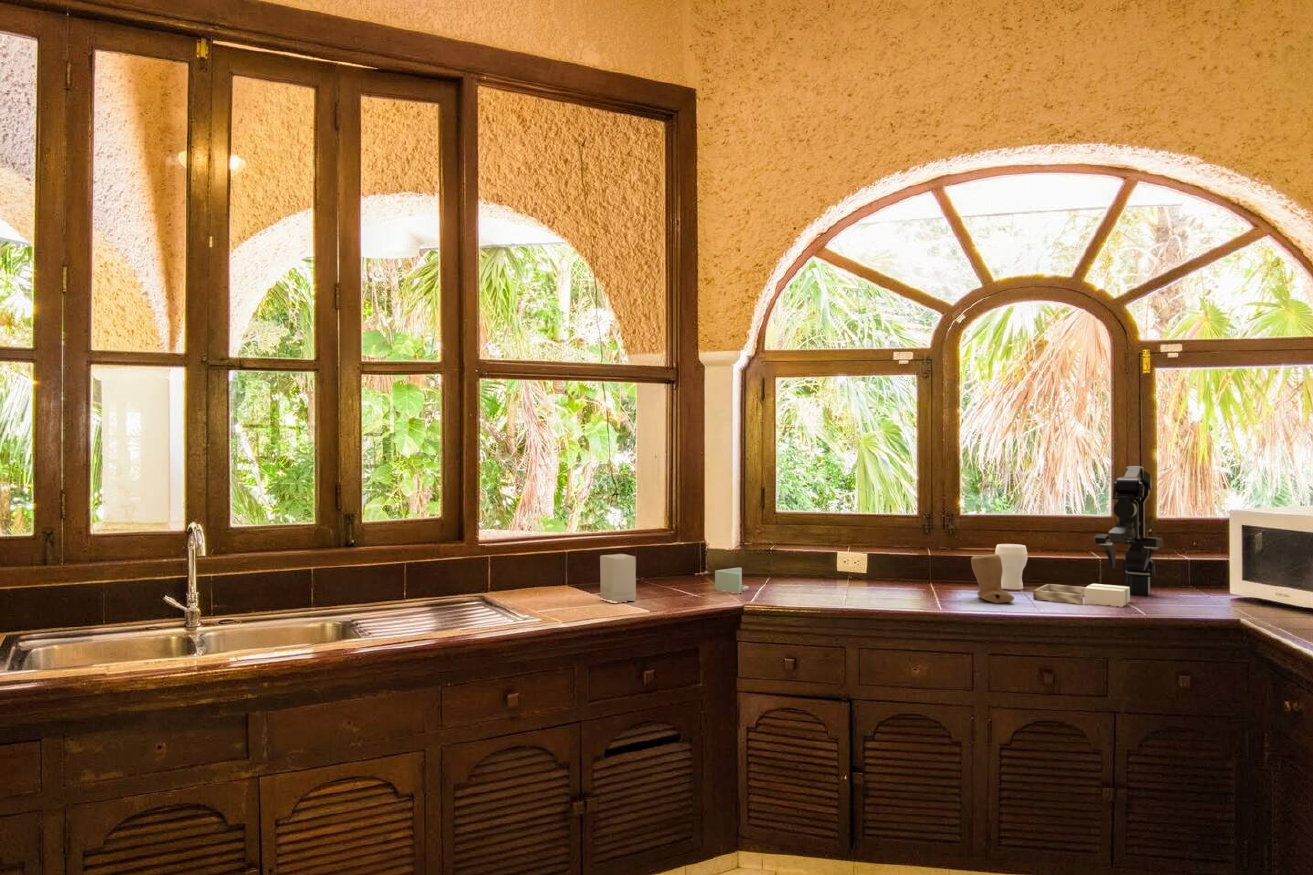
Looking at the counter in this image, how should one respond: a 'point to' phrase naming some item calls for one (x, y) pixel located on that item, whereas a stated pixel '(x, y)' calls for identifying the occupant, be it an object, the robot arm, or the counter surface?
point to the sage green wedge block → (729, 580)
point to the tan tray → (1059, 593)
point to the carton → (1107, 594)
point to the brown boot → (990, 578)
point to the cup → (1012, 564)
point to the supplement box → (618, 577)
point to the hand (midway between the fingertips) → (1128, 568)
